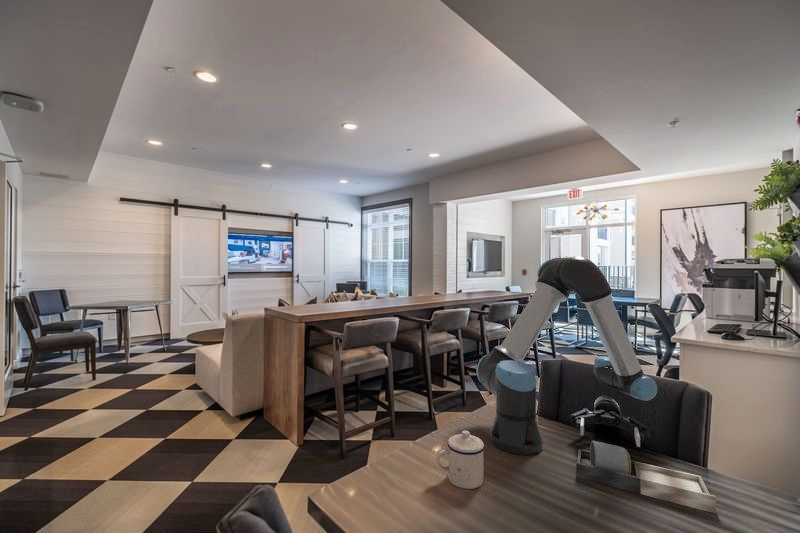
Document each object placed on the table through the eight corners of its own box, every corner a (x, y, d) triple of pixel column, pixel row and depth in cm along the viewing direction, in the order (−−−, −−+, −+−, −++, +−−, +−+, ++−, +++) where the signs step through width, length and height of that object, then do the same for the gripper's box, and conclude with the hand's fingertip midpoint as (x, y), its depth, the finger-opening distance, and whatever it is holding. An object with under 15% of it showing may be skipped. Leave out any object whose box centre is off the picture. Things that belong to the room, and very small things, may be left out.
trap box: (576, 477, 88) (576, 463, 88) (578, 454, 99) (578, 441, 99) (716, 513, 75) (716, 497, 75) (700, 482, 86) (700, 467, 86)
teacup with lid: (477, 468, 92) (477, 423, 92) (489, 489, 83) (489, 439, 83) (432, 470, 90) (432, 425, 91) (440, 492, 81) (440, 441, 82)
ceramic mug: (633, 485, 84) (632, 453, 85) (595, 479, 87) (594, 448, 87) (620, 464, 94) (620, 435, 95) (586, 459, 97) (586, 430, 97)
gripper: (653, 430, 110) (664, 461, 92) (565, 414, 122) (560, 439, 104) (652, 406, 110) (664, 432, 92) (565, 392, 123) (560, 413, 104)
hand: (609, 436), depth 98 cm, fingers open, 13 cm apart
